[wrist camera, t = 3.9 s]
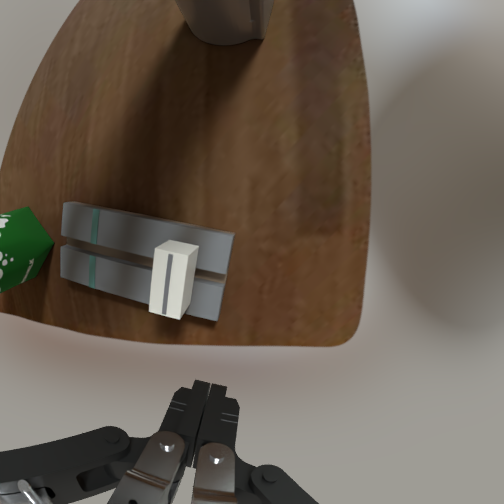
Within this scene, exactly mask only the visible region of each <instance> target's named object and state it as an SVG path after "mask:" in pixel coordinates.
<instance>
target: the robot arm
mask: <svg viewBox="0 0 504 504" xmlns="http://www.w3.org/2000/svg"><path fill="white" fill-rule="evenodd" d="M175 1H176V3H177V5H178V7H179V9H180V11H181V13H182V14H183V16H184V18H185V20H186V22H187V24H188V26H189V28H190V30H191V31H192V32H193V34H194V35H195V36H196V37H197V38H199V39H200V40H202V41H204V42H206V43H210V44H214V45H234V44H239V43H242V42H245V41H248V40H250V39H264V37H265V34H266V30H267V26H268V22H269V18H270V15H271V11H272V7H273V4H274V0H175ZM209 389H210V383H207V382H203V381H199V380H195V381H194V384H193V387H192V389H188V388H184V387H181V388H180V389H179V390H178V391H176V392H175V393H174V396H173V398H172V401H171V403H170V405H169V408H168V410H167V412H166V415H165V417H164V420H163V422H162V424H161V426H160V429H159V431H158V432H156V433H154V434H153V435H152V436H151V437H147V438H134V437H129V436H128V435H127V433H126V432H125V431H124V430H122V429H120V428H118V427H114V426H106V427H102V428H99V429H96V430H93V431H89V432H86V433H82V434H79V435H76V436H72V437H68V438H64V439H61V440H56V441H52V442H48V443H44V444H39V445H35V446H30V447H25V448H20V449H14V450H9V451H3V452H0V504H68V503H72V502H75V501H79V500H82V499H85V498H88V497H91V496H94V495H97V494H100V493H103V492H106V491H108V490H111V489H114V488H116V489H115V491H114V493H113V494H112V496H111V498H110V499H109V501H108V503H107V504H172V502H173V500H174V498H175V495H176V492H177V490H178V487H179V485H180V482H181V479H182V477H183V475H184V471H185V467H186V466H187V467H191V465H192V461H193V457H194V464H193V468H196V473H195V480H194V486H193V494H192V502H191V504H319V503H317V502H316V501H315V500H314V499H313V498H312V497H311V496H310V495H309V494H307V493H306V492H305V491H304V490H303V489H302V488H301V487H300V486H299V485H298V484H297V483H296V482H295V481H294V480H293V479H291V478H290V477H289V476H288V475H287V474H286V473H285V472H284V471H283V470H282V469H281V468H279V467H277V466H274V465H261V466H258V467H255V466H252V465H250V464H248V463H245V462H244V461H242V460H241V459H240V458H239V457H238V456H237V454H236V452H235V441H236V432H237V425H238V416H239V409H240V407H239V405H238V402H237V400H236V399H233V398H228V397H225V395H226V390H227V387H226V386H222V385H217V384H212V385H211V389H210V392H209ZM208 395H209V396H208ZM194 454H195V456H194Z"/></svg>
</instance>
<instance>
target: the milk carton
mask: <svg viewBox="0 0 504 504" xmlns="http://www.w3.org/2000/svg"><path fill="white" fill-rule="evenodd" d="M53 245H54V242H53V240H52V239H51V238H50V236H49V235H48V234H47V232H46V231H45V230H44V228H43V227H42V226H41V224H40V223H39V221H38V220H37V218H36V217H35V216H34V214H33V213H32V211H31V210H30V208H29V207H24V208H21V209H17V210H14V211H10V212H7V213H4V214H0V293H2V292H4V291H6V290H8V289H10V288H12V287H14V286H16V285H19V284H21V283H23V282H25V281H28V280H30V279H32V278H34V277H36V276H37V274H38V272H39V270H40V268H41V266H42V264H43V262H44V261H45V259H46V257H47V255H48V253H49V252H50V250H51V248H52V246H53Z"/></svg>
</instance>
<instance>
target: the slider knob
mask: <svg viewBox="0 0 504 504" xmlns="http://www.w3.org/2000/svg"><path fill="white" fill-rule="evenodd" d="M198 249H199V246H197V245H192V244H187V243H183V242H178V241H173V240H168V241H167V242H165V243H163V244H161V245H160V246H158V247H156V248H155V252H154V261H153V270H152V280H151V291H150V303H149V312H152V313H156V314H160V315H163V316H167V317H171V318H175V319H179V320H180V319H181V317H182V315H183V314H184V312H185V311H186V309H187V308H188V306H189V304H190V302H191V295H192V288H193V281H194V275H195V268H196V262H197V256H198Z"/></svg>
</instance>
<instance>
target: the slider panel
mask: <svg viewBox="0 0 504 504" xmlns="http://www.w3.org/2000/svg"><path fill="white" fill-rule="evenodd" d="M61 235H63V236H66V237H67V245H64V246H62V247H61V277H62V278H65V279H68V280H71V281H74V282H77V283H80V284H83V285H86V286H89V287H91V288H94V289H99V290H102V291H105V292H108V293H112V294H115V295H118V296H122V297H125V298H128V299H132V300H135V301H139V302H142V303H146V304H149V303H150V291H151V280H152V270H153V261H154V252H155V248H156V247H158V246H160V245H161V244H163V243H165V242H167V241H168V240H173V241H178V242H183V243H187V244H192V245H197V246H199V249H198V256H197V262H196V268H195V275H194V281H193V288H192V295H191V302H190V304H189V306H188V308H187V309H186V311H185V312H184V314H188V315H192V316H197V317H201V318H205V319H209V320H214V321H218V318H219V315H220V312H221V306H222V301H223V295H224V290H225V285H226V279H227V274H228V269H229V264H230V258H231V253H232V248H233V243H234V238H235V233H233V232H228V231H223V230H218V229H214V228H209V227H204V226H199V225H194V224H189V223H184V222H179V221H174V220H169V219H164V218H159V217H154V216H149V215H144V214H139V213H133V212H128V211H123V210H118V209H113V208H107V207H102V206H97V205H91V204H86V203H80V202H75V201H73V202H66V203H64V204H63V215H62V230H61Z"/></svg>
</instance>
